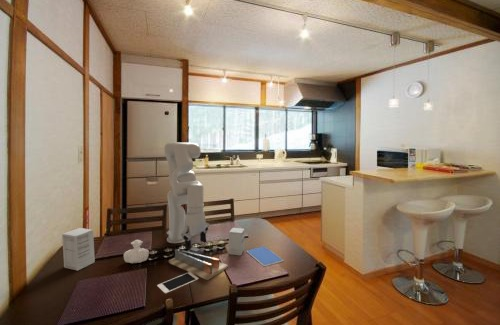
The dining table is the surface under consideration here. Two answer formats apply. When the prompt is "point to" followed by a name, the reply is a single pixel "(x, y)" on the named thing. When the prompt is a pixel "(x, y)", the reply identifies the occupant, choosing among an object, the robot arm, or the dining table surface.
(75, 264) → the supplement box
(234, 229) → the supplement box
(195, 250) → the lock slider
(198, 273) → the rest board
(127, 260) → the white rounded piece
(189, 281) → the cell phone
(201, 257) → the tongs hinged arm
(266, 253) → the tablet computer
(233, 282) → the dining table surface
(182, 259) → the tongs fixed arm
